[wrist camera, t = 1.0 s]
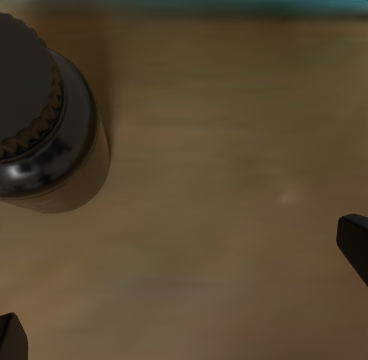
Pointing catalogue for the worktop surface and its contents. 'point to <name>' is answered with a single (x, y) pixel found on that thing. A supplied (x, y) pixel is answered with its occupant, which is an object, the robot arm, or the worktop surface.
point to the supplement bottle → (46, 126)
